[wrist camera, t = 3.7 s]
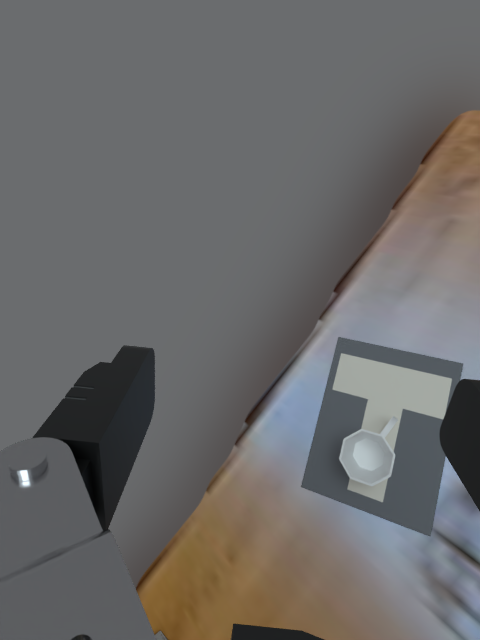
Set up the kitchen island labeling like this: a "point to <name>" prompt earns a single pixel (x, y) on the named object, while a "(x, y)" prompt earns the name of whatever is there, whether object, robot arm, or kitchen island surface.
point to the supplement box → (160, 636)
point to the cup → (368, 455)
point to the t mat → (373, 415)
